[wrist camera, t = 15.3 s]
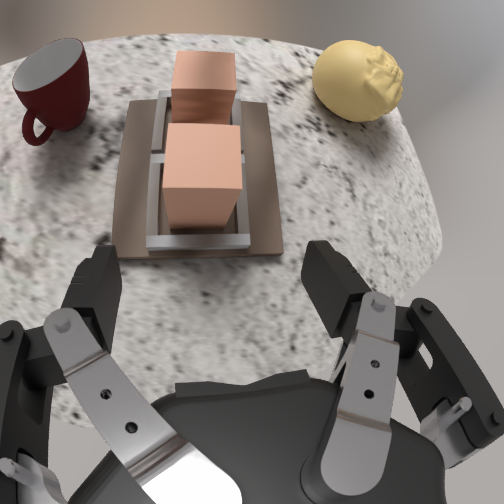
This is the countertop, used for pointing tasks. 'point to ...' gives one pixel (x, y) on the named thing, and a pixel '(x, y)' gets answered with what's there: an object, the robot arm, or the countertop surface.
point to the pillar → (201, 174)
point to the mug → (53, 88)
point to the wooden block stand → (153, 156)
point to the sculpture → (357, 80)
